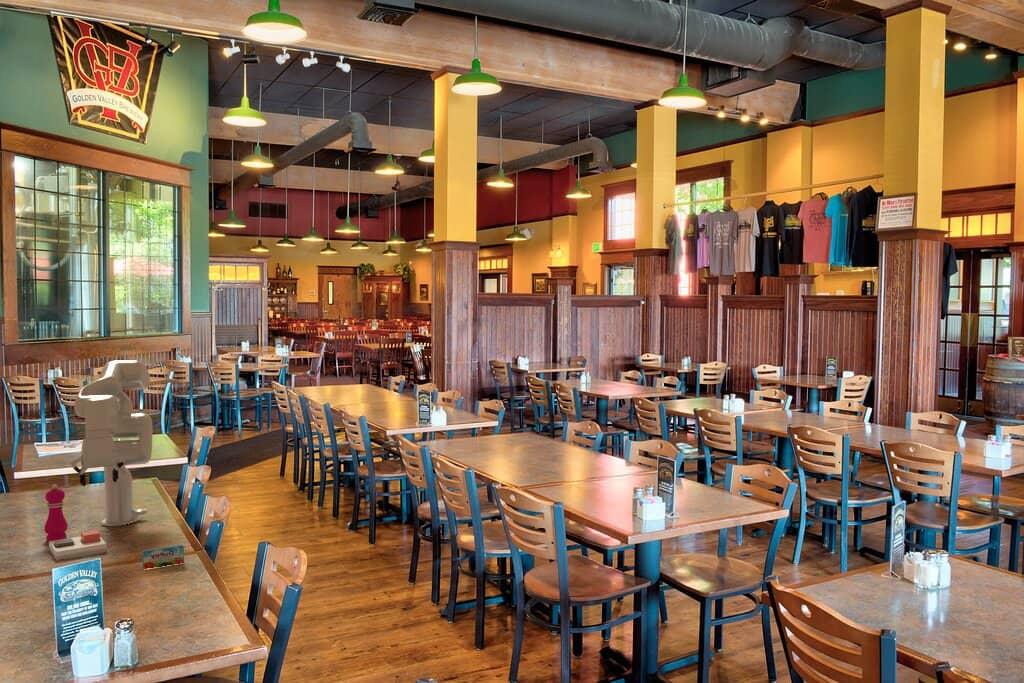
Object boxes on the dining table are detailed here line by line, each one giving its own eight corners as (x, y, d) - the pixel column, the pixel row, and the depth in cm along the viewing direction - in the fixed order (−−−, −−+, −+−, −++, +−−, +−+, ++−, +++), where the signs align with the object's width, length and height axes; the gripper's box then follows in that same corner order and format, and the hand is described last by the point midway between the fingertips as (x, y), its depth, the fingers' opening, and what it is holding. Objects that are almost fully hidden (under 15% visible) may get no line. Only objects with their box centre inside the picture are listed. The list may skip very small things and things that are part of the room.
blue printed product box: (143, 570, 253) (142, 551, 253) (142, 569, 254) (142, 550, 254) (184, 564, 259) (183, 545, 259) (183, 563, 260) (182, 544, 260)
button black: (71, 545, 275) (71, 538, 275) (74, 548, 271) (73, 541, 271) (54, 548, 272) (54, 540, 272) (57, 551, 268) (56, 544, 268)
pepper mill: (57, 543, 283) (55, 486, 282) (39, 542, 285) (38, 486, 284) (72, 537, 290) (71, 482, 289) (55, 536, 292) (53, 481, 291)
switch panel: (97, 542, 284) (97, 533, 284) (106, 552, 272) (106, 543, 272) (49, 550, 275) (48, 541, 275) (56, 560, 263) (56, 551, 263)
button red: (97, 537, 280) (96, 529, 279) (100, 540, 276) (99, 533, 275) (81, 539, 276) (80, 532, 276) (83, 543, 273) (83, 535, 272)
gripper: (122, 430, 285) (124, 478, 285) (67, 435, 274) (69, 485, 275) (127, 432, 279) (129, 481, 279) (71, 438, 268) (73, 489, 269)
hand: (99, 483), depth 277 cm, fingers open, 9 cm apart
